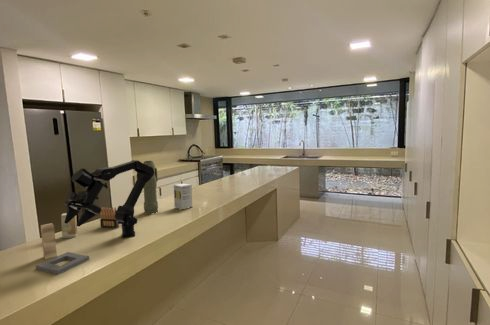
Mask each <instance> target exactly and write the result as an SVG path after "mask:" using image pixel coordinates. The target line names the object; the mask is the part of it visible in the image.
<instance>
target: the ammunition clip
mask: <svg viewBox="0 0 490 325" xmlns="http://www.w3.org/2000/svg"><path fill="white" fill-rule="evenodd" d="M116 211H117V207H115V206H114V207H113V206H112V207H110V206H106V207H105V206H103V207H102V206H101V212H100V219H99V221H100V228H102V229H104V228H105V229H119V227H120V226H119V225H120V224H118V221H117V220H116V219H115V214H116V213H115V212H116Z"/></svg>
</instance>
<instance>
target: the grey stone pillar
mask: <svg viewBox="0 0 490 325" xmlns="http://www.w3.org/2000/svg"><path fill="white" fill-rule="evenodd" d="M142 163H143V164H145V165H147V166H149V167H152V168H153V169H154V175H153V176H152V178H151V179H150V180H149V181H148V182H146V184H145V186H144V188H143V198H144V202H143V210H144V214H145V213H146V214H145V215H152V214H151V213H154V214H157V213H159V210H158V209H159V203H158V199H157V198H158V197H157V187H158V185H157V183H158V181H159V180H158V169H157V167H155V165H156V164H155V163H154V161H153V160H145V161H143V162H142ZM156 212H157V213H156Z"/></svg>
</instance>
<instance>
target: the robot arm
mask: <svg viewBox="0 0 490 325" xmlns="http://www.w3.org/2000/svg"><path fill="white" fill-rule="evenodd" d="M143 163H144V162H141V161H140V160H134V159H133V160H131V161H130V160H129V161H126V162H124V163H121V164H117V165H115V166H110V167H109V166H107V167H99V168H96V169H95V171H93V172H89V171H88V170H87V169H85V168H84V167H83V168H80V169H79V170H77V171H76V172H75V173H74V174H72V176H71V182H73V183H75V184H77V185H78V186H80V187H82V188H85V190H82V191H80V190H78V191H76V192H71V191H67V194H66V197H65V199H66V201H65V202H64V205H65V207H66V213H67V214H66V218H65V222H64V223H66V224H67V223H68V222H69V221H70V220H71V219H73V218H74V217H75V216H76V217H77V215H78V214H79V213H80V212H82V213H81V216H80V217H79V219H78V221H77V228H78V227H81V226H82V225H83V224H85V223H86V222H88V221H89V220H91V219H92V218H94V217H96V216H97V215H101V207H102V206H101V207H100V206H98V205H97V204H96V203H94V202H95V201H97V200H98V201H99V197H98V196H99V194H100V193H101V191H102V189H107V190H108V188H109V187H108V183H107V182H108V181H110V180H112V179H114V178H115V177H116V176H117V175H120V174H123V173H125V172H128V171H131V170H134V172H136V181H135V182H134V185H133V187H132V188H131V190H130V192H129V195H128V197H127V198H126V200H125V202H124V204H123V205H118V207H117V208H116V212H115V213H116V214H115V219H116V220H117V221H118V224H119V225H121V237H120V238H121V239H125V238H131V237H136V230H135V226H136V224H137V223H138V218H136V217H135V216H134V215H135V206H136V203H137V202H138V200H139V197H140V196H141V193H142V192H143V191H144V186H145V184H146V182H148V181H149V180H150V179H151V178H152V176H153V175H154V169H153V168H152V167H149V166H147V165H145V164H143ZM103 181H104V182H103ZM80 210H82V211H80Z"/></svg>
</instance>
